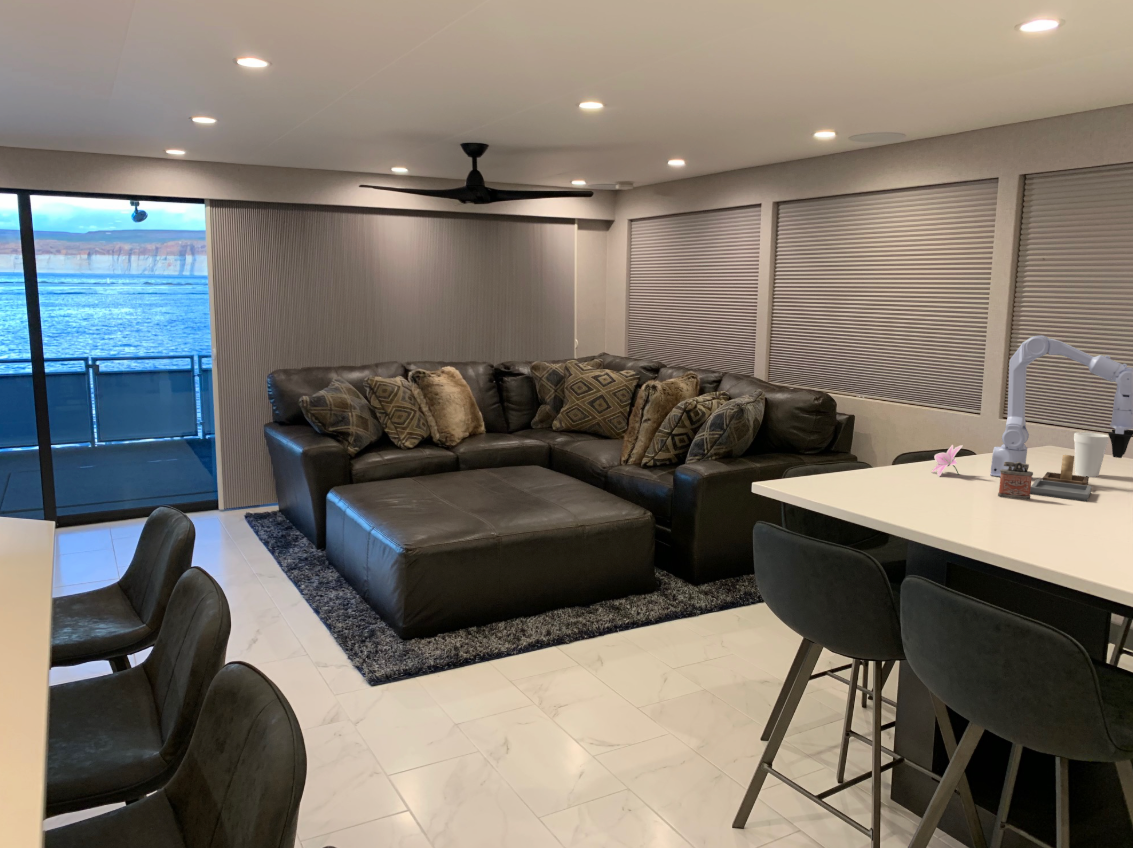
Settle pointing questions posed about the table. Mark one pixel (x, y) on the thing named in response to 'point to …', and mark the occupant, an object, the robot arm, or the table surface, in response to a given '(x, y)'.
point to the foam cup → (1089, 453)
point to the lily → (946, 459)
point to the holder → (1075, 480)
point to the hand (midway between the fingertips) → (1118, 455)
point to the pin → (1067, 467)
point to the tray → (1061, 490)
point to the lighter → (1015, 481)
